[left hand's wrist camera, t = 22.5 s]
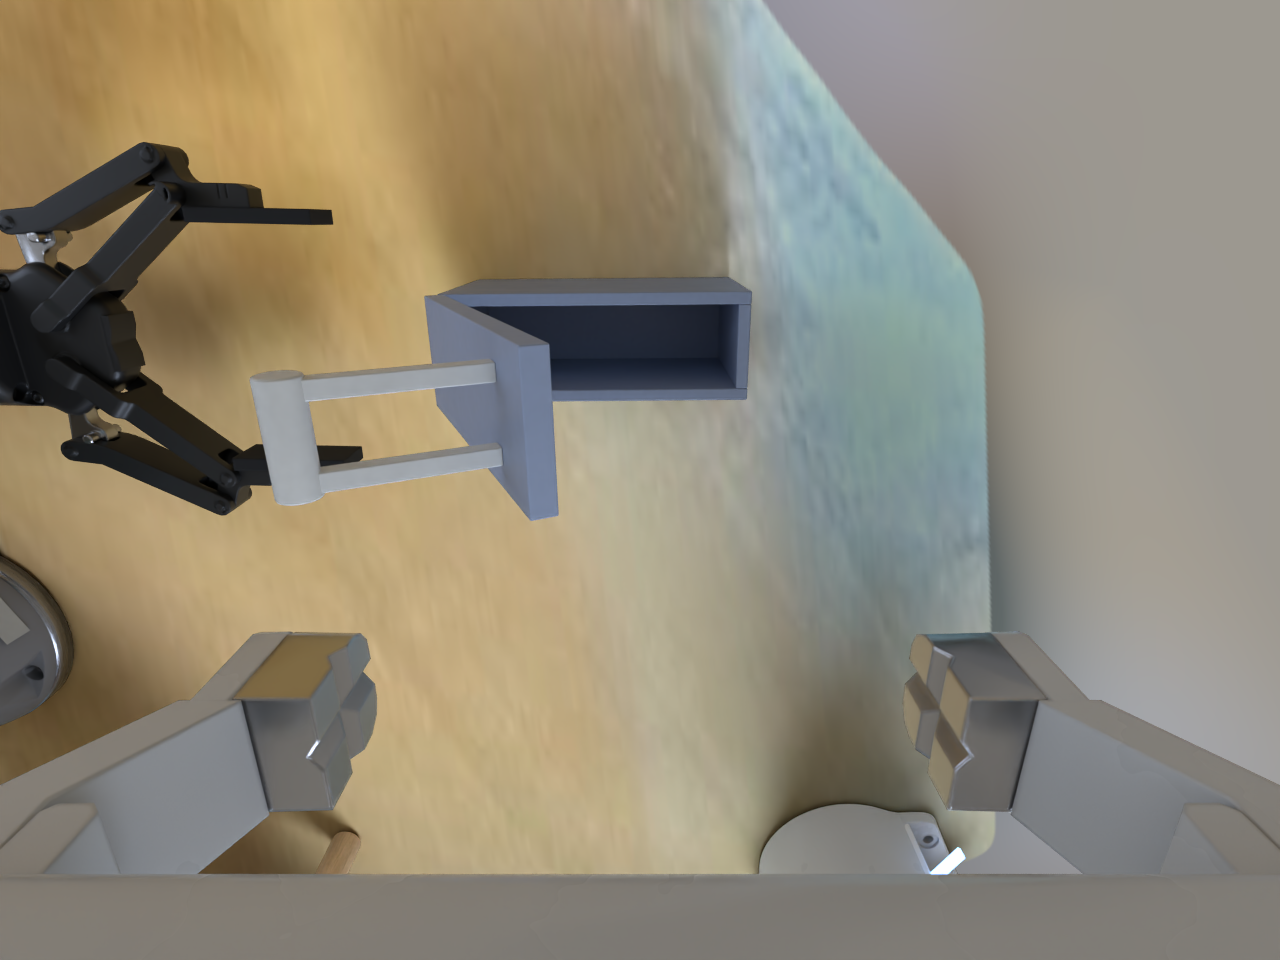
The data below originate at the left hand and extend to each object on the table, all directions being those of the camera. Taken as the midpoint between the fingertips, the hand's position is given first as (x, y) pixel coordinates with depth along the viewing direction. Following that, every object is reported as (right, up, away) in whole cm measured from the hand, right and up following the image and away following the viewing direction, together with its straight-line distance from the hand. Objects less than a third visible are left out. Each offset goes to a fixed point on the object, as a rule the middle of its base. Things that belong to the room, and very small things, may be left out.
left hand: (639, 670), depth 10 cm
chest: (-2, +13, +35) cm, 37 cm away
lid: (-6, +7, +18) cm, 21 cm away
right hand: (-17, +10, +29) cm, 35 cm away
